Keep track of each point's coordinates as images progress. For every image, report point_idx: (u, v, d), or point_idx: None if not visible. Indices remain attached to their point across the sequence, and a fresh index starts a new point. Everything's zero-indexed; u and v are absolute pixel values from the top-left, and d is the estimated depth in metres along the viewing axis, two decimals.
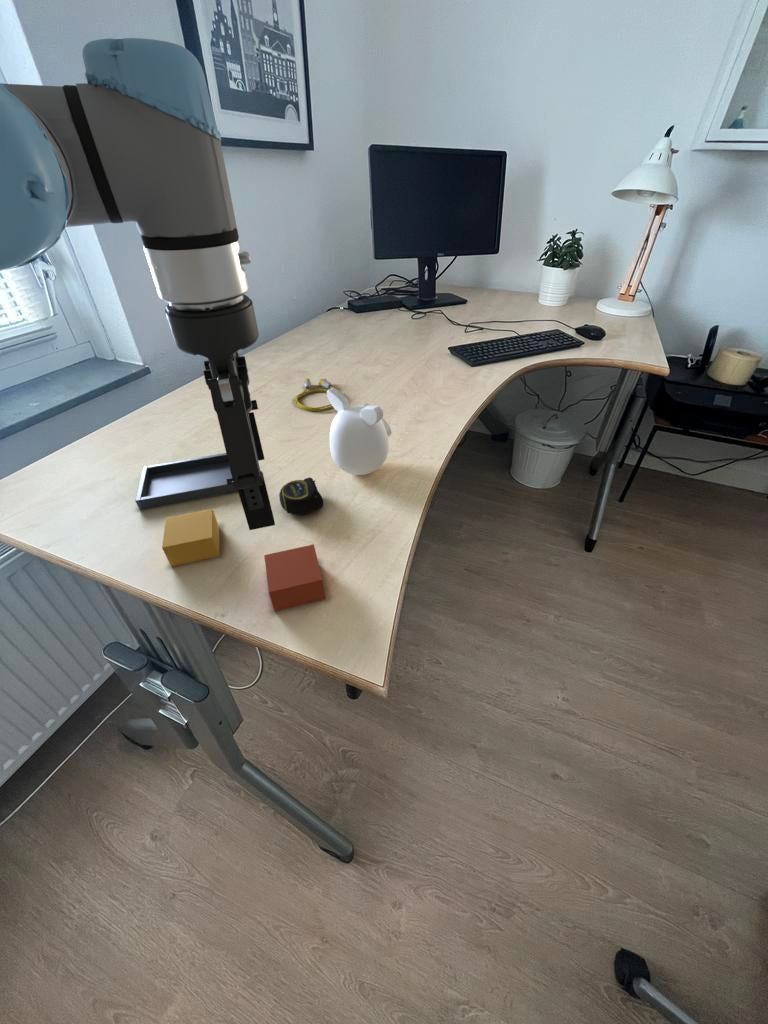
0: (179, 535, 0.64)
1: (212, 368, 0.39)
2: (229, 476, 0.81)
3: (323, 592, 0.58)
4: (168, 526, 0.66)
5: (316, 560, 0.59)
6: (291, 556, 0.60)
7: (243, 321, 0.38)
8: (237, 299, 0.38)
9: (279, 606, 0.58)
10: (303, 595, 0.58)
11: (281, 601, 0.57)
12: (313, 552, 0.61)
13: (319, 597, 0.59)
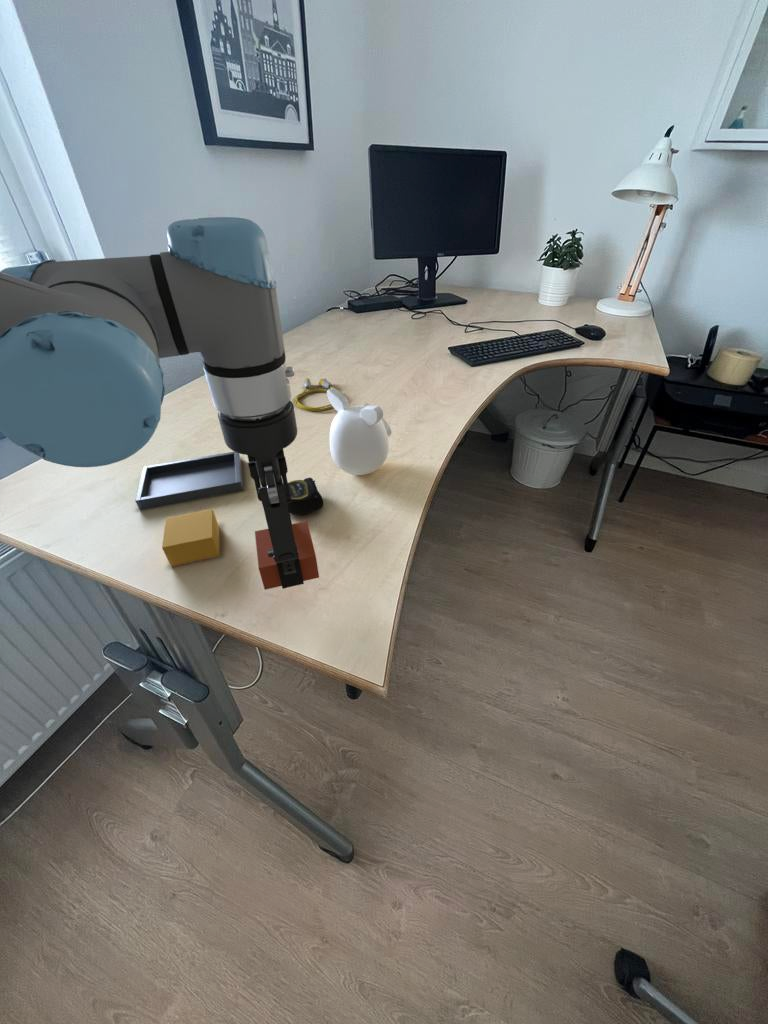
0: (179, 535, 0.64)
1: (258, 465, 0.43)
2: (229, 476, 0.81)
3: (316, 570, 0.55)
4: (168, 526, 0.66)
5: (310, 537, 0.56)
6: None
7: (286, 425, 0.43)
8: (282, 407, 0.43)
9: (269, 584, 0.55)
10: None
11: (272, 578, 0.54)
12: (306, 529, 0.58)
13: (312, 575, 0.56)
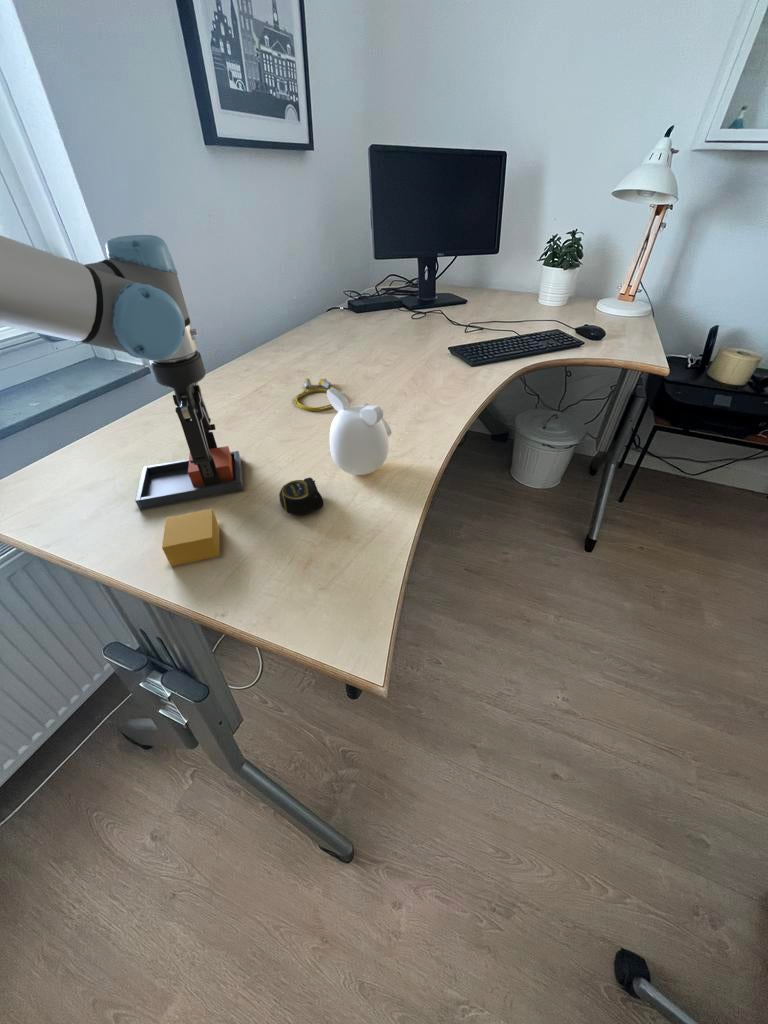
0: (179, 535, 0.64)
1: (176, 394, 0.67)
2: None
3: (231, 477, 0.79)
4: (168, 526, 0.66)
5: (227, 455, 0.80)
6: None
7: (194, 367, 0.66)
8: (190, 355, 0.66)
9: (197, 486, 0.78)
10: None
11: (199, 481, 0.77)
12: (226, 450, 0.81)
13: (229, 481, 0.79)
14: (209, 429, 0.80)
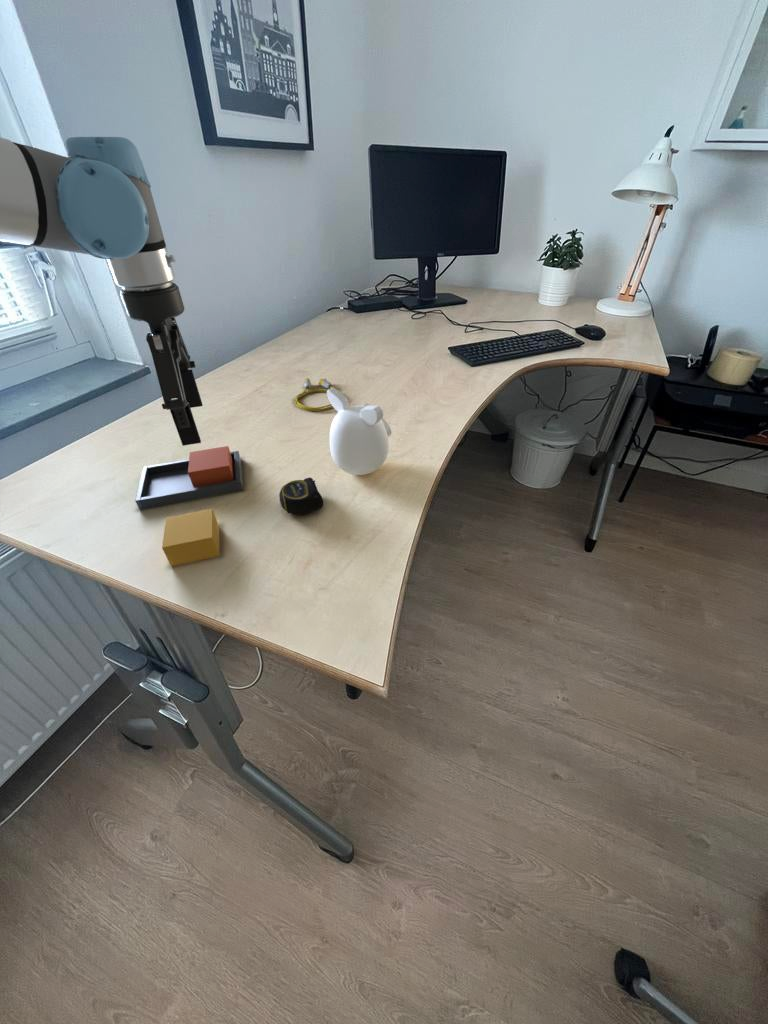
0: (179, 535, 0.64)
1: (150, 329, 0.60)
2: None
3: (231, 477, 0.79)
4: (168, 526, 0.66)
5: (227, 455, 0.80)
6: (209, 452, 0.80)
7: (170, 299, 0.59)
8: (166, 285, 0.59)
9: (197, 486, 0.78)
10: (215, 478, 0.78)
11: (199, 481, 0.77)
12: (226, 450, 0.81)
13: (229, 481, 0.79)
14: (188, 367, 0.74)
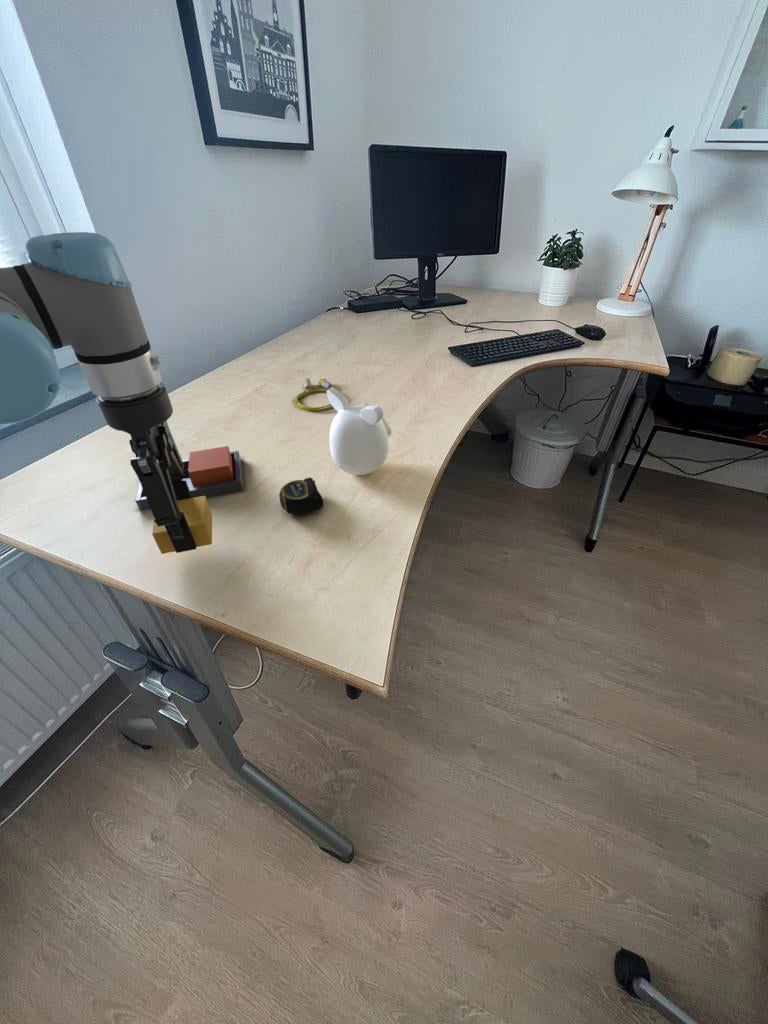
0: None
1: (133, 440, 0.51)
2: None
3: (231, 477, 0.79)
4: None
5: (227, 455, 0.80)
6: (209, 452, 0.80)
7: (155, 406, 0.51)
8: (151, 390, 0.50)
9: (197, 486, 0.78)
10: (215, 478, 0.78)
11: (199, 481, 0.77)
12: (226, 450, 0.81)
13: (229, 481, 0.79)
14: (181, 477, 0.65)
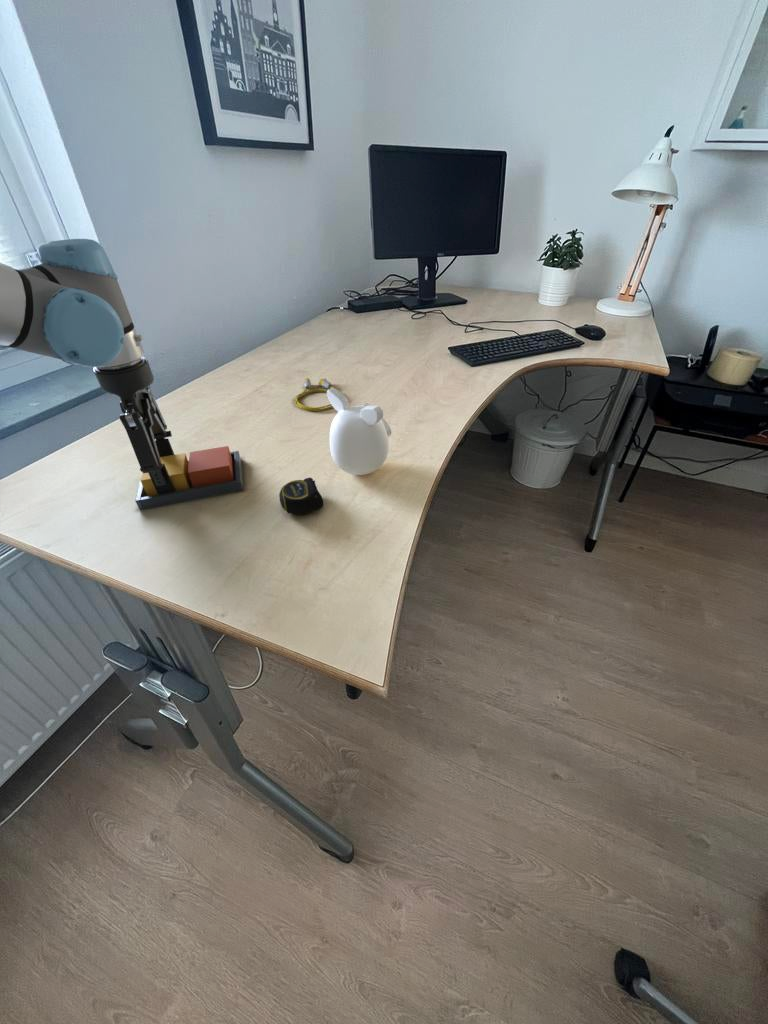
0: None
1: (122, 402, 0.65)
2: None
3: (231, 477, 0.79)
4: None
5: (227, 455, 0.80)
6: (209, 452, 0.80)
7: (139, 374, 0.64)
8: (135, 362, 0.64)
9: (197, 486, 0.78)
10: (215, 478, 0.78)
11: (199, 481, 0.77)
12: (226, 450, 0.81)
13: (229, 481, 0.79)
14: (164, 436, 0.79)
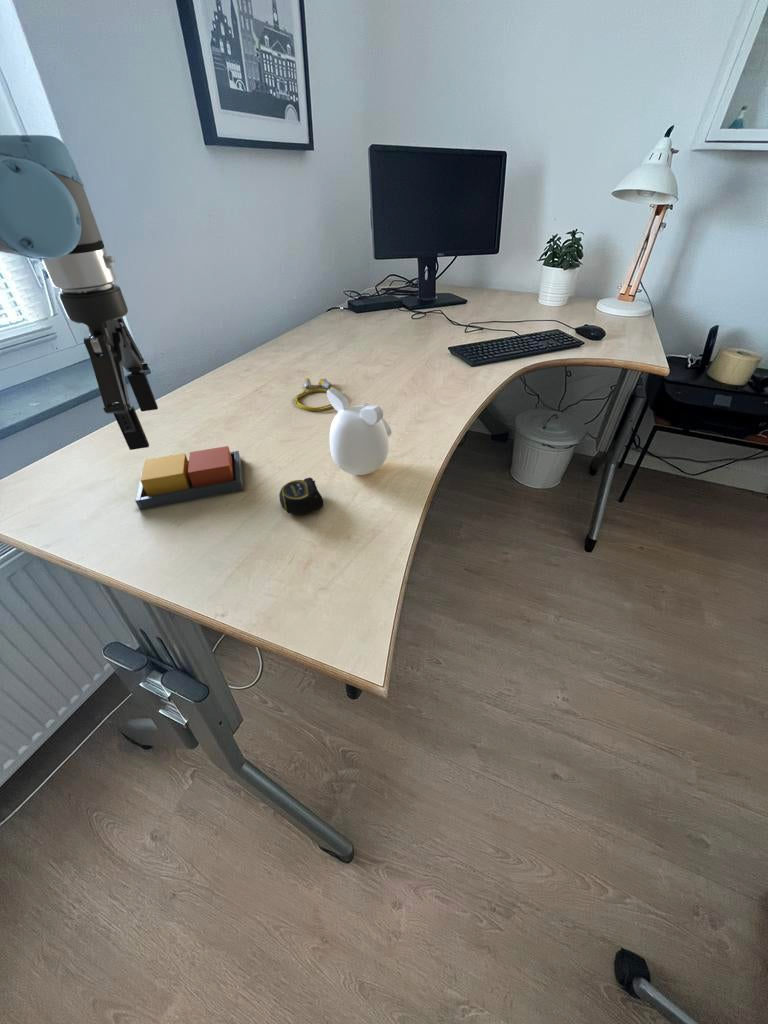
0: (155, 471, 0.76)
1: (90, 332, 0.59)
2: None
3: (231, 477, 0.79)
4: (146, 465, 0.78)
5: (227, 455, 0.80)
6: (209, 452, 0.80)
7: (109, 301, 0.58)
8: (105, 286, 0.58)
9: (197, 486, 0.78)
10: (215, 478, 0.78)
11: (199, 481, 0.77)
12: (226, 450, 0.81)
13: (229, 481, 0.79)
14: (141, 370, 0.73)
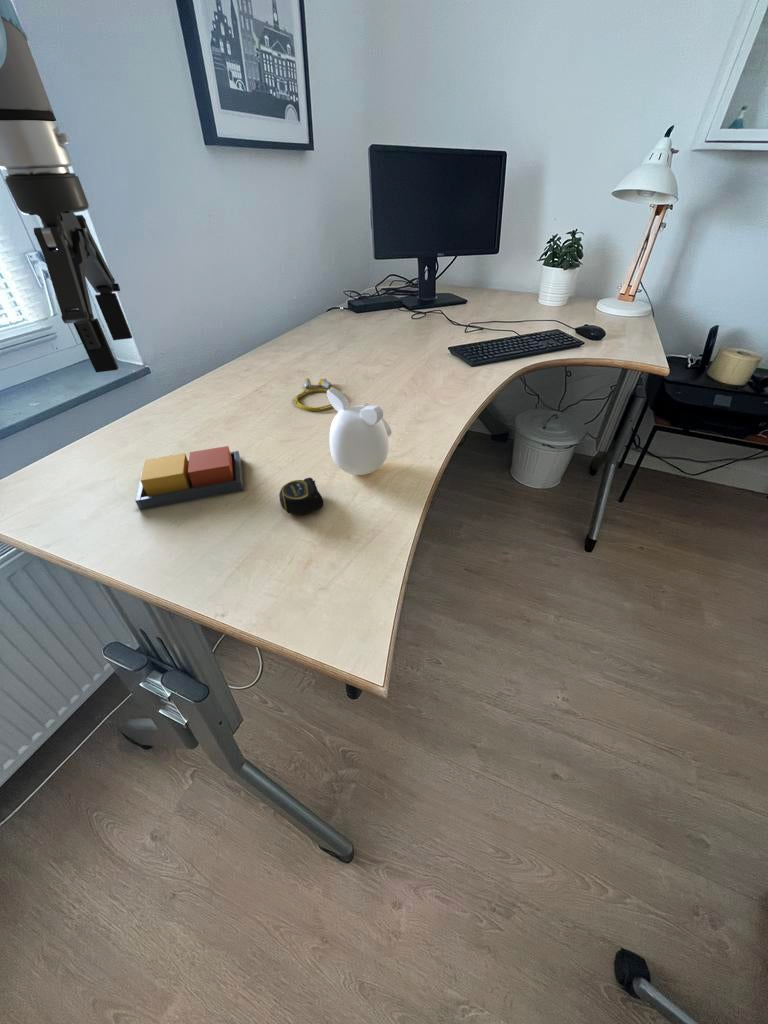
0: (155, 471, 0.76)
1: (43, 225, 0.51)
2: None
3: (231, 477, 0.79)
4: (146, 465, 0.78)
5: (227, 455, 0.80)
6: (209, 452, 0.80)
7: (64, 187, 0.50)
8: (59, 170, 0.50)
9: (197, 486, 0.78)
10: (215, 478, 0.78)
11: (199, 481, 0.77)
12: (226, 450, 0.81)
13: (229, 481, 0.79)
14: (111, 290, 0.65)
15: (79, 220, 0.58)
